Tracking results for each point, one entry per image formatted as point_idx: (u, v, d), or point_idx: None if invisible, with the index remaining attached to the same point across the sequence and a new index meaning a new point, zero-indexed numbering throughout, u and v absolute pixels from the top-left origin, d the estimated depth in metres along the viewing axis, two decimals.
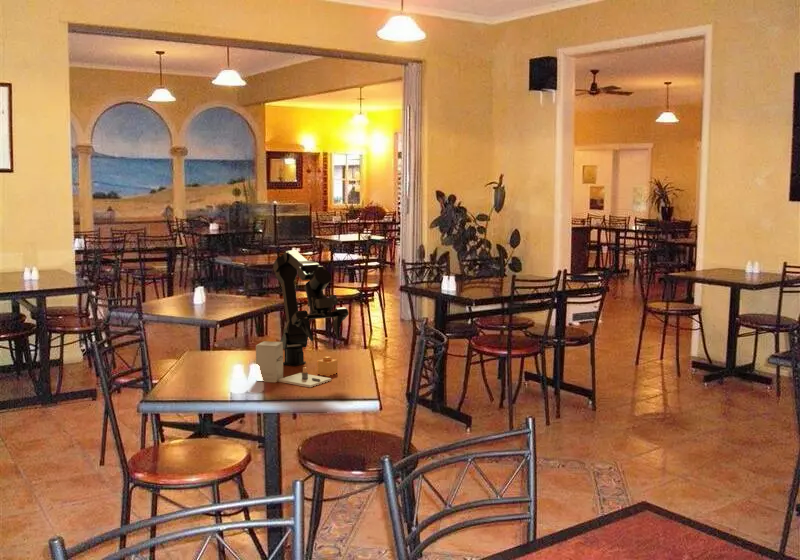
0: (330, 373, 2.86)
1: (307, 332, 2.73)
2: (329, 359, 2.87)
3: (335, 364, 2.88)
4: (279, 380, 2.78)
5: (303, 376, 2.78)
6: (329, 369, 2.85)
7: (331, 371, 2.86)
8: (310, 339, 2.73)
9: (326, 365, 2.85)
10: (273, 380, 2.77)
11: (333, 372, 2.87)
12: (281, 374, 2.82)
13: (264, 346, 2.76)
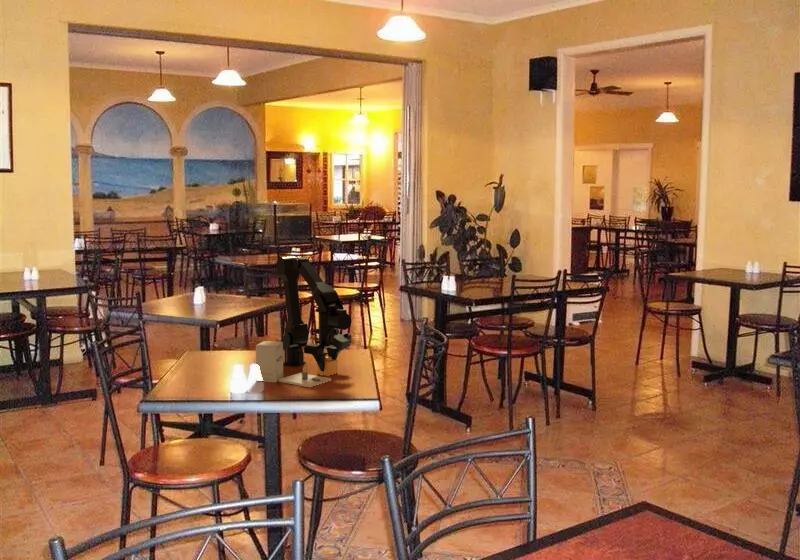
0: (330, 373, 2.86)
1: (320, 363, 2.85)
2: (329, 359, 2.87)
3: (335, 364, 2.88)
4: (279, 380, 2.78)
5: (303, 376, 2.78)
6: (329, 369, 2.85)
7: (331, 371, 2.86)
8: (320, 369, 2.86)
9: (326, 365, 2.85)
10: (273, 380, 2.77)
11: (333, 372, 2.87)
12: (281, 374, 2.82)
13: (264, 346, 2.76)
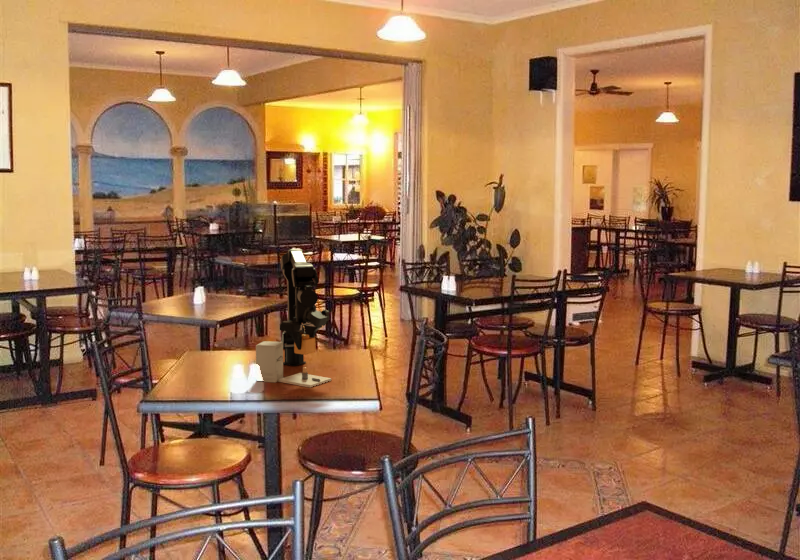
0: (307, 351, 2.75)
1: (297, 341, 2.74)
2: (306, 337, 2.76)
3: (313, 342, 2.77)
4: (279, 380, 2.78)
5: (303, 376, 2.78)
6: (306, 347, 2.74)
7: (308, 349, 2.75)
8: (297, 347, 2.75)
9: (303, 343, 2.74)
10: (273, 380, 2.77)
11: (311, 350, 2.76)
12: (281, 374, 2.82)
13: (264, 346, 2.76)
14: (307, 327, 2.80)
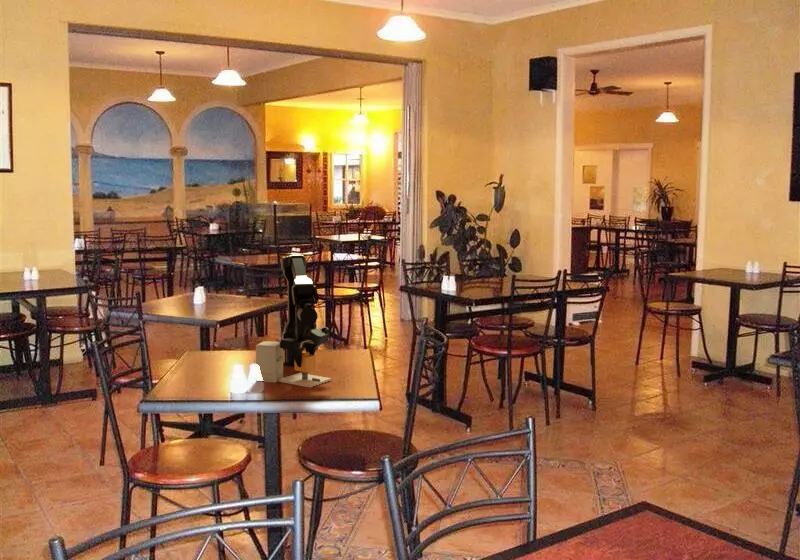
0: (307, 369, 2.76)
1: (297, 358, 2.75)
2: (306, 354, 2.76)
3: (313, 359, 2.78)
4: (279, 380, 2.78)
5: (303, 376, 2.78)
6: (306, 365, 2.75)
7: (308, 367, 2.76)
8: (297, 364, 2.76)
9: (303, 360, 2.75)
10: (273, 380, 2.77)
11: (311, 368, 2.77)
12: (281, 374, 2.82)
13: (264, 346, 2.76)
14: (307, 344, 2.81)
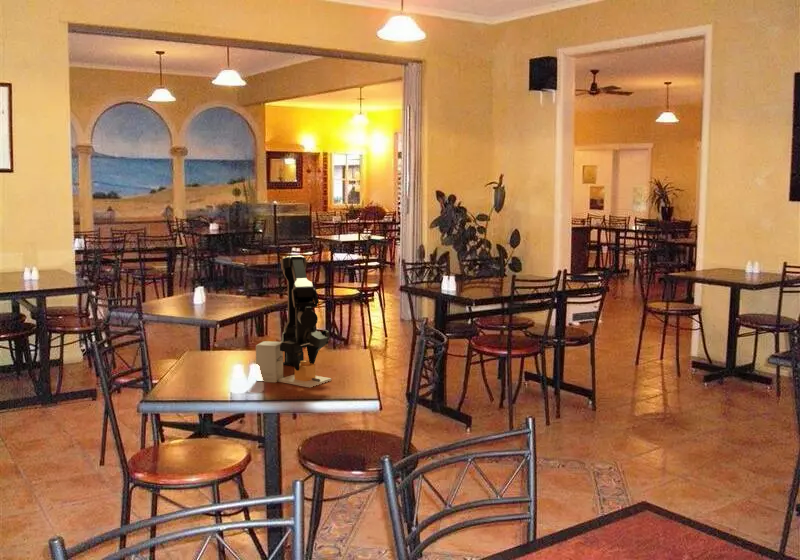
0: (307, 378, 2.76)
1: (295, 361, 2.74)
2: (306, 363, 2.77)
3: (313, 368, 2.78)
4: (279, 380, 2.78)
5: None
6: (306, 374, 2.75)
7: (308, 376, 2.76)
8: (295, 368, 2.75)
9: (303, 370, 2.75)
10: (273, 380, 2.77)
11: (311, 377, 2.77)
12: (281, 374, 2.82)
13: (264, 346, 2.76)
14: (309, 346, 2.82)
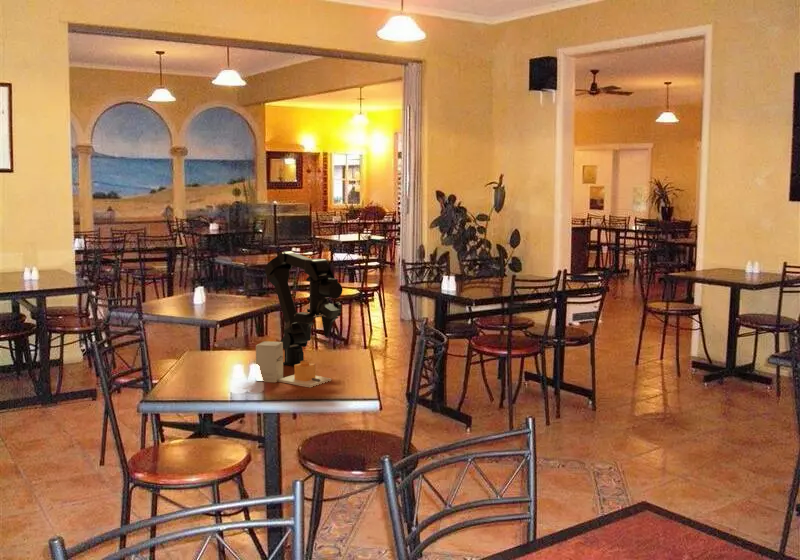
0: (307, 378, 2.76)
1: (306, 332, 2.87)
2: (306, 363, 2.77)
3: (313, 368, 2.78)
4: (279, 380, 2.78)
5: None
6: (306, 374, 2.75)
7: (308, 376, 2.76)
8: (306, 338, 2.88)
9: (303, 370, 2.75)
10: (273, 380, 2.77)
11: (311, 377, 2.77)
12: (281, 374, 2.82)
13: (264, 346, 2.76)
14: (324, 318, 2.96)
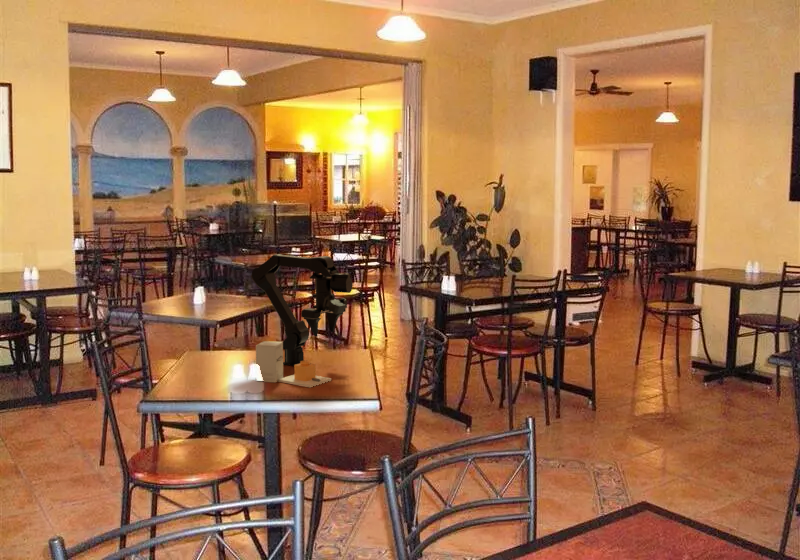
0: (307, 378, 2.76)
1: (313, 328, 2.93)
2: (306, 363, 2.77)
3: (313, 368, 2.78)
4: (279, 380, 2.78)
5: None
6: (306, 374, 2.75)
7: (308, 376, 2.76)
8: None
9: (303, 370, 2.75)
10: (273, 380, 2.77)
11: (311, 377, 2.77)
12: (281, 374, 2.82)
13: (264, 346, 2.76)
14: (329, 314, 3.02)
